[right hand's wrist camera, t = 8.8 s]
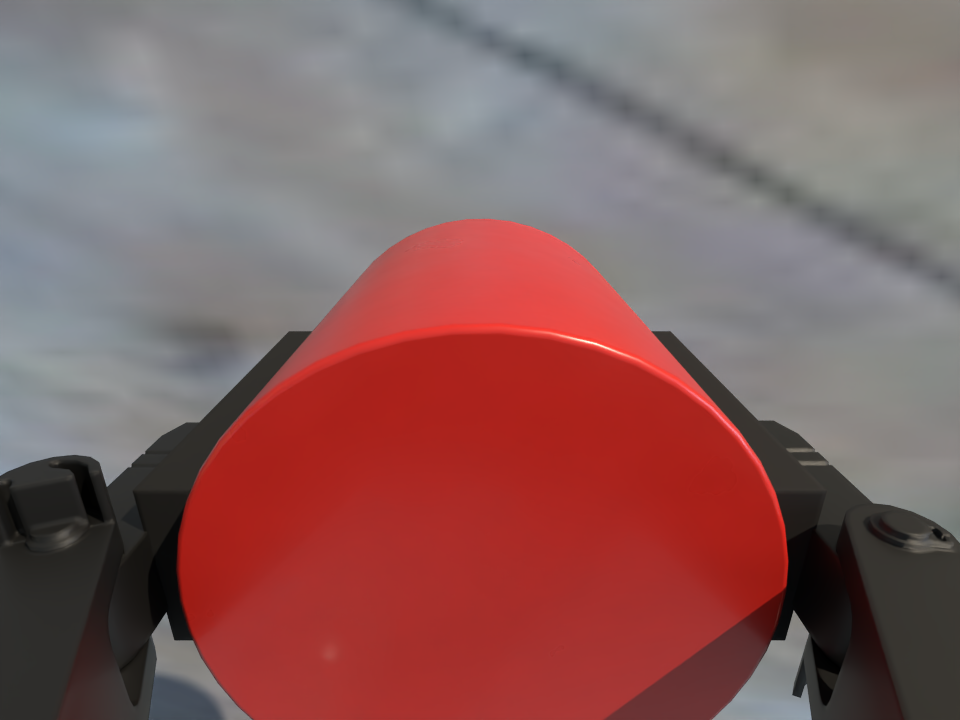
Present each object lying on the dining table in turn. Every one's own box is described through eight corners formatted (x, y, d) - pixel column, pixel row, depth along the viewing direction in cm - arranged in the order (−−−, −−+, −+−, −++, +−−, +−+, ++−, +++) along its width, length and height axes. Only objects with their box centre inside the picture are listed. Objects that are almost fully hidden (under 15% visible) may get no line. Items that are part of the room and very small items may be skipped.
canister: (400, 160, 13) (283, 194, 5) (686, 300, 14) (929, 492, 6) (294, 430, 15) (114, 713, 8) (543, 527, 16) (595, 852, 9)
